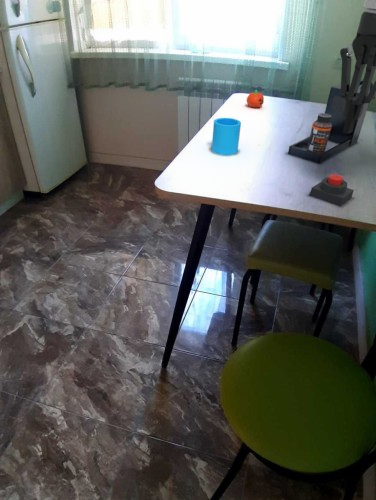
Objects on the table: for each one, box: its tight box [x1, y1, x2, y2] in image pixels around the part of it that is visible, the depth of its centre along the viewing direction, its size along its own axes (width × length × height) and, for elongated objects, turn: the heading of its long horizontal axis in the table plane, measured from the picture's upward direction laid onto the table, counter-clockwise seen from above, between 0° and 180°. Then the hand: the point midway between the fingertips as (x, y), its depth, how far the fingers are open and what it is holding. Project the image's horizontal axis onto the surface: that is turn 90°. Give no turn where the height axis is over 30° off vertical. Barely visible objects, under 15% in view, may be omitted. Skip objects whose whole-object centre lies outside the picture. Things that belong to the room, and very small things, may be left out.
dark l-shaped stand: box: [287, 83, 371, 164], centre depth 134 cm, size 12×28×16 cm, turn 140°
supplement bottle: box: [306, 112, 332, 154], centre depth 132 cm, size 6×6×11 cm
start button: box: [327, 174, 344, 186], centre depth 108 cm, size 4×4×2 cm
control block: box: [309, 176, 355, 207], centre depth 110 cm, size 9×7×4 cm
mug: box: [211, 117, 242, 156], centre depth 132 cm, size 13×9×9 cm
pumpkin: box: [246, 89, 265, 108], centre depth 170 cm, size 7×8×6 cm
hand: (347, 132), depth 102 cm, fingers closed
